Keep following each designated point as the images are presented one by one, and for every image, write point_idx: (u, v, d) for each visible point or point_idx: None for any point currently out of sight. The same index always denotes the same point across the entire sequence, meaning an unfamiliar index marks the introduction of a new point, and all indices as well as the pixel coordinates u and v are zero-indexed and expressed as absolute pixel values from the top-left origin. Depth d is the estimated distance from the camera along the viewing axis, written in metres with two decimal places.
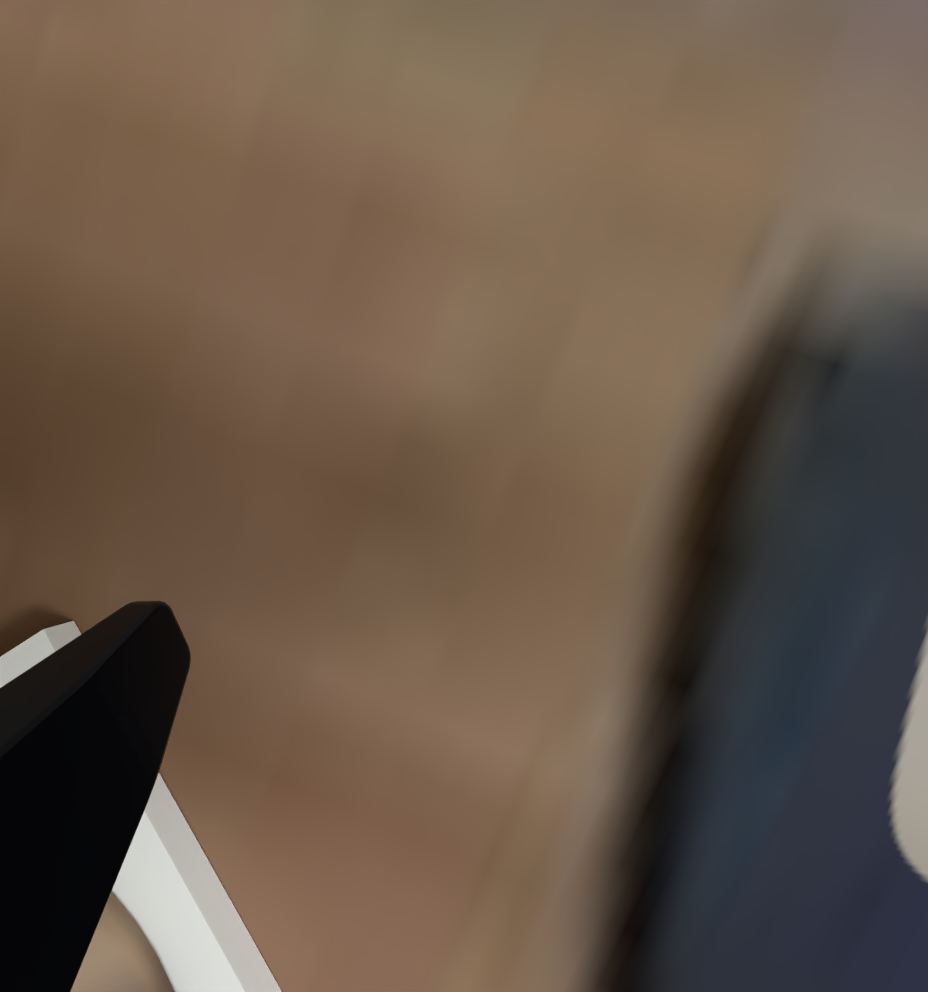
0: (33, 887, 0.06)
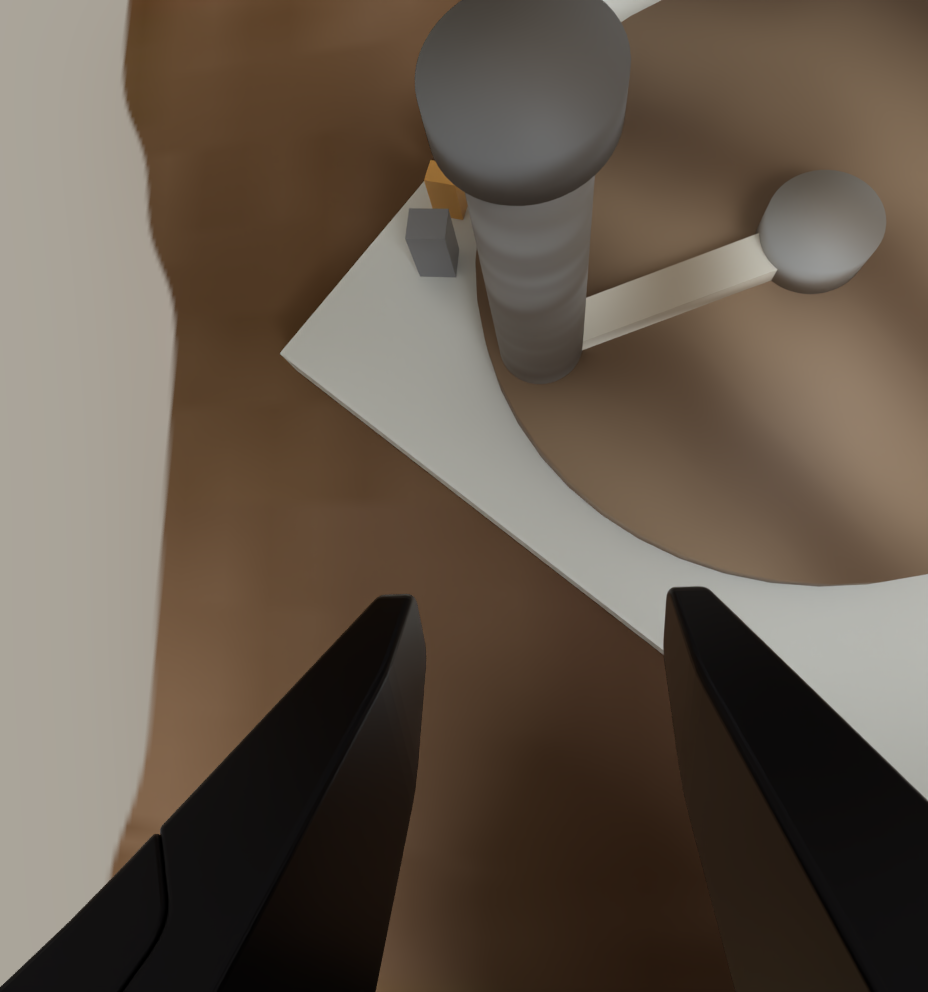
0: (357, 897, 0.06)
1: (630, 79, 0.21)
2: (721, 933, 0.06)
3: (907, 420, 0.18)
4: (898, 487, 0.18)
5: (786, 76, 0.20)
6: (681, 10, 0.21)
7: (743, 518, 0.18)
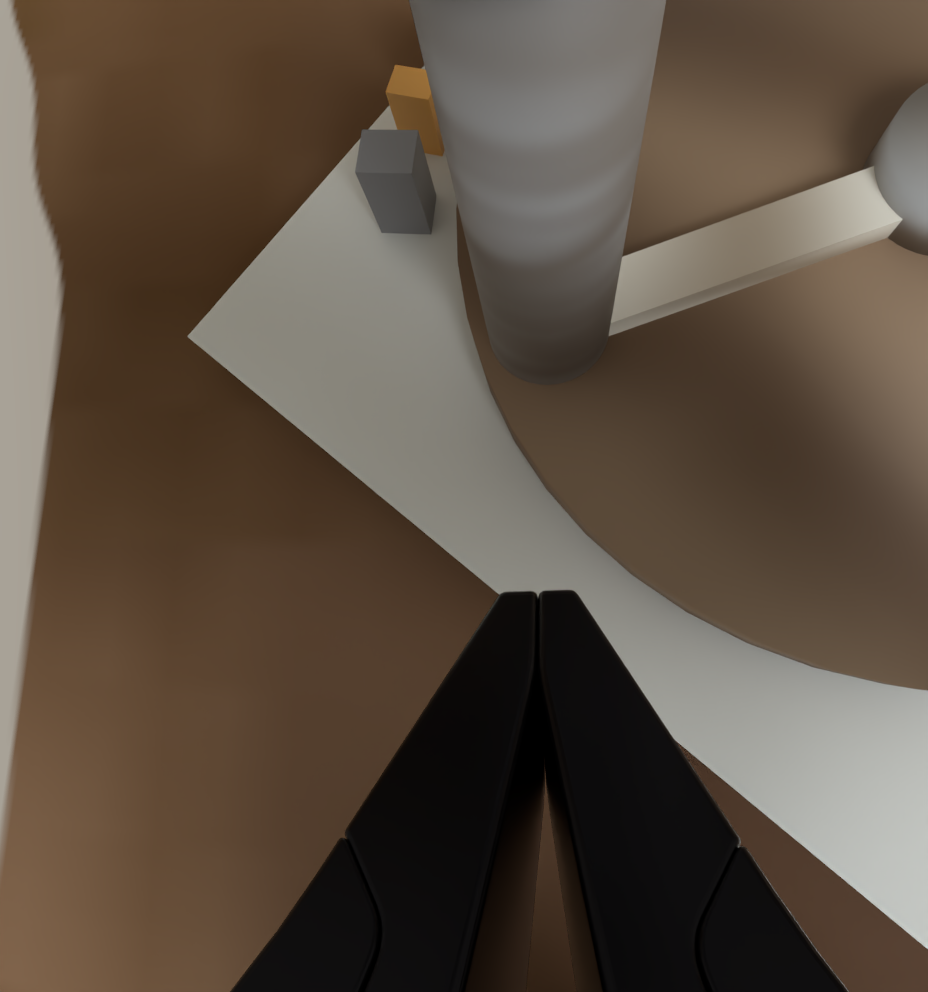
0: (520, 903, 0.06)
1: None
2: (567, 927, 0.06)
3: None
4: None
5: None
6: None
7: (850, 592, 0.12)
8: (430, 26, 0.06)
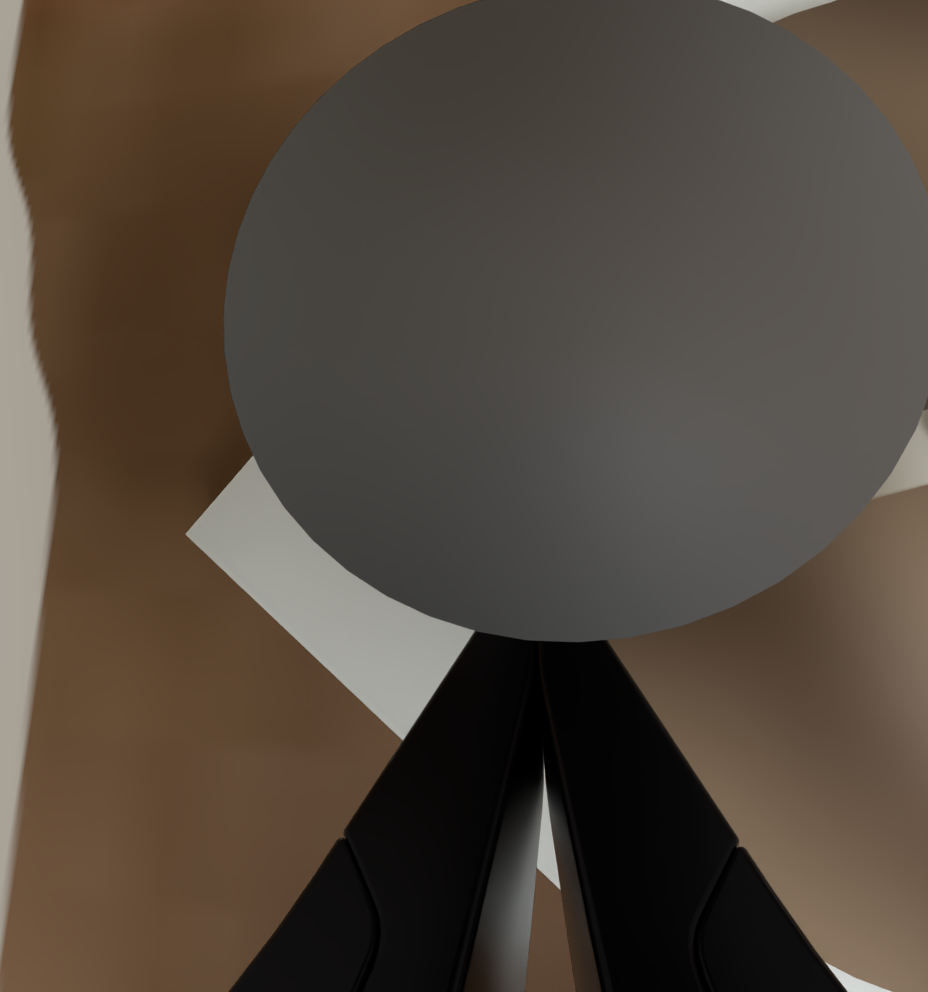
0: (518, 903, 0.06)
1: None
2: (566, 927, 0.06)
3: None
4: None
5: None
6: (815, 34, 0.14)
7: (874, 888, 0.11)
8: None
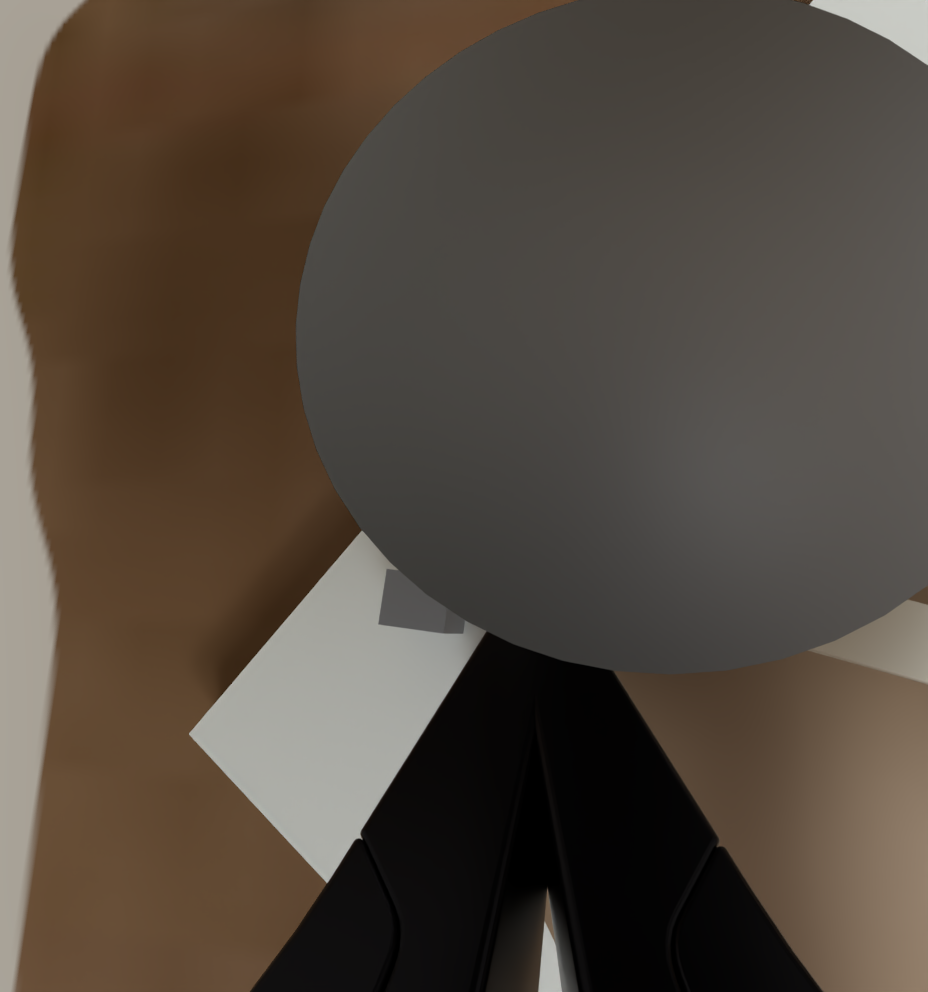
0: (534, 904, 0.06)
1: None
2: (553, 926, 0.06)
3: None
4: None
5: None
6: None
7: None
8: None
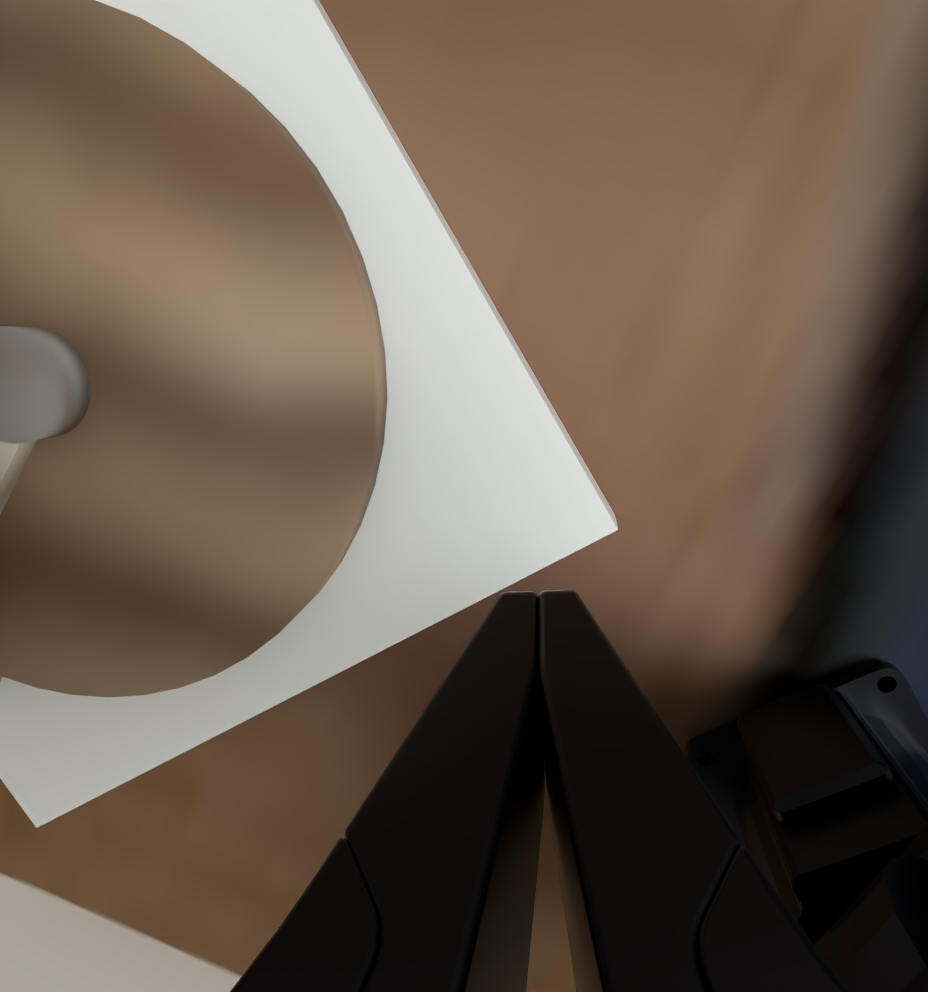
0: (520, 903, 0.06)
1: None
2: (567, 927, 0.06)
3: (208, 497, 0.19)
4: (237, 557, 0.19)
5: None
6: None
7: (159, 646, 0.20)
8: None
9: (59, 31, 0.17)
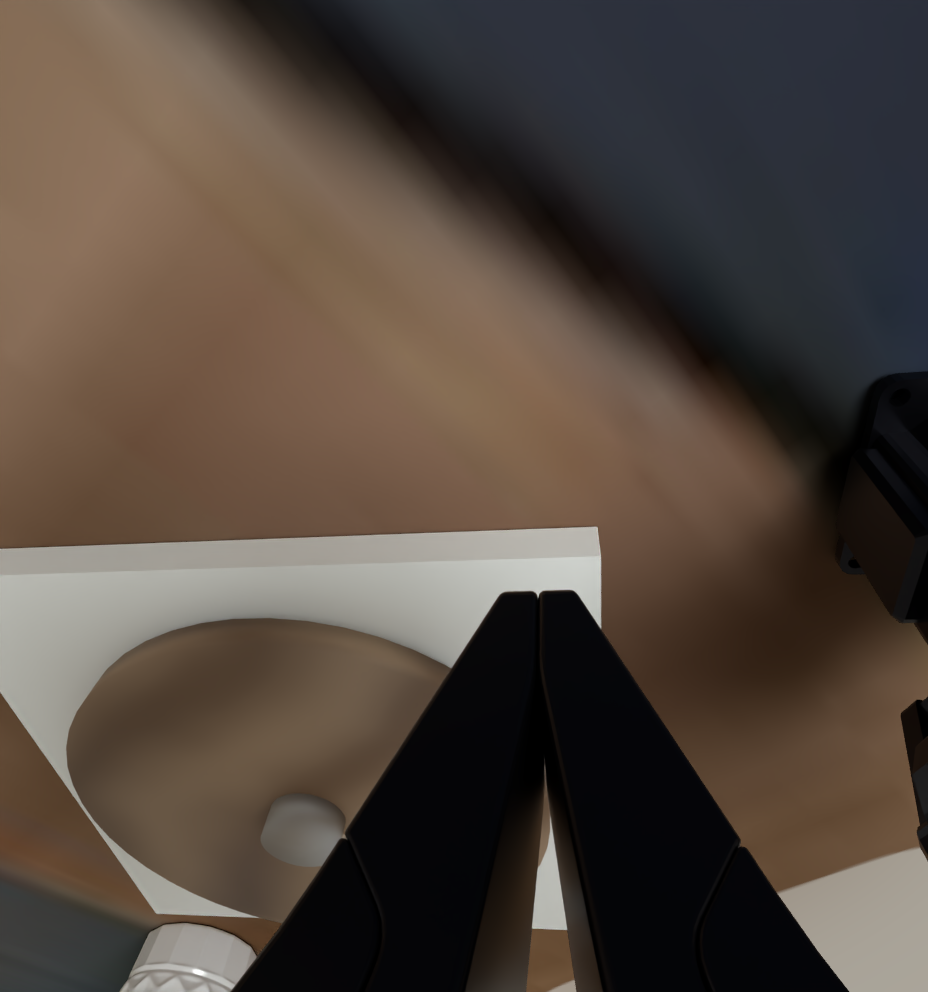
0: (519, 903, 0.06)
1: (214, 880, 0.31)
2: (567, 927, 0.06)
3: None
4: None
5: (182, 822, 0.28)
6: (153, 861, 0.30)
7: None
8: None
9: (102, 716, 0.25)
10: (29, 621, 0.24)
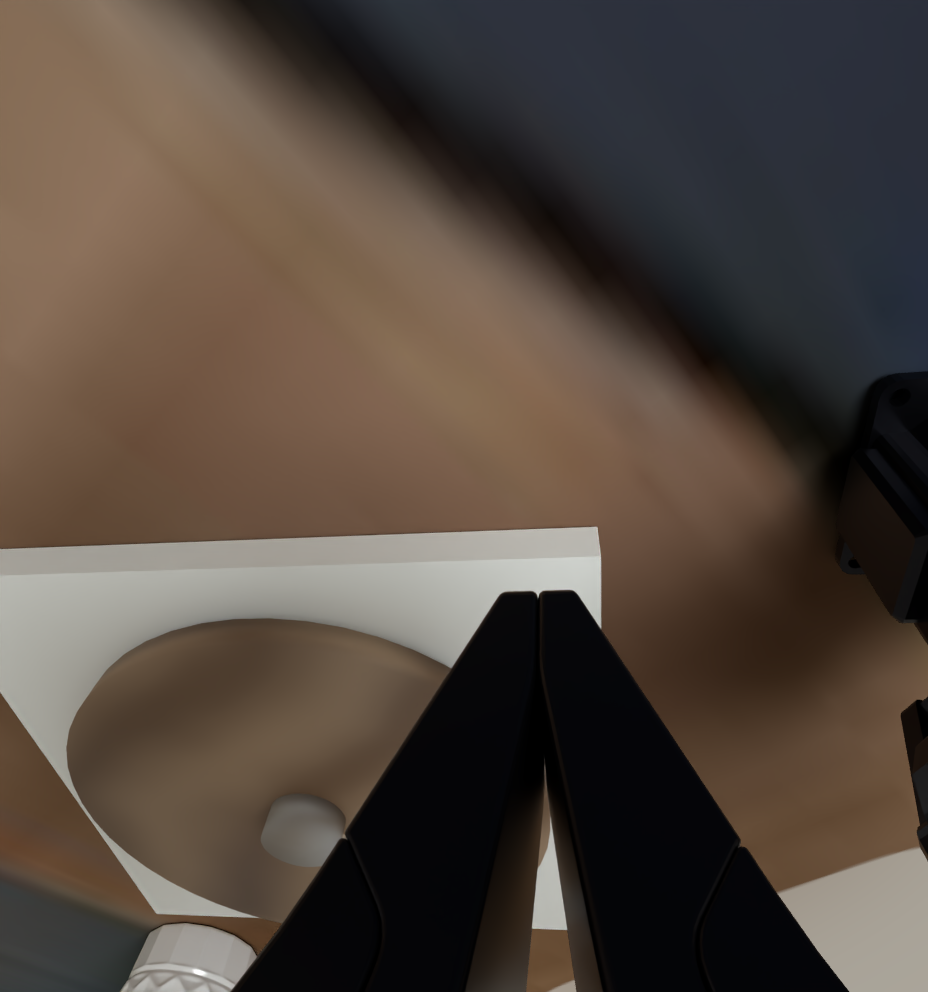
0: (520, 903, 0.06)
1: (215, 880, 0.31)
2: (567, 927, 0.06)
3: None
4: None
5: (182, 822, 0.28)
6: (153, 862, 0.30)
7: None
8: None
9: (102, 717, 0.25)
10: (29, 622, 0.24)
